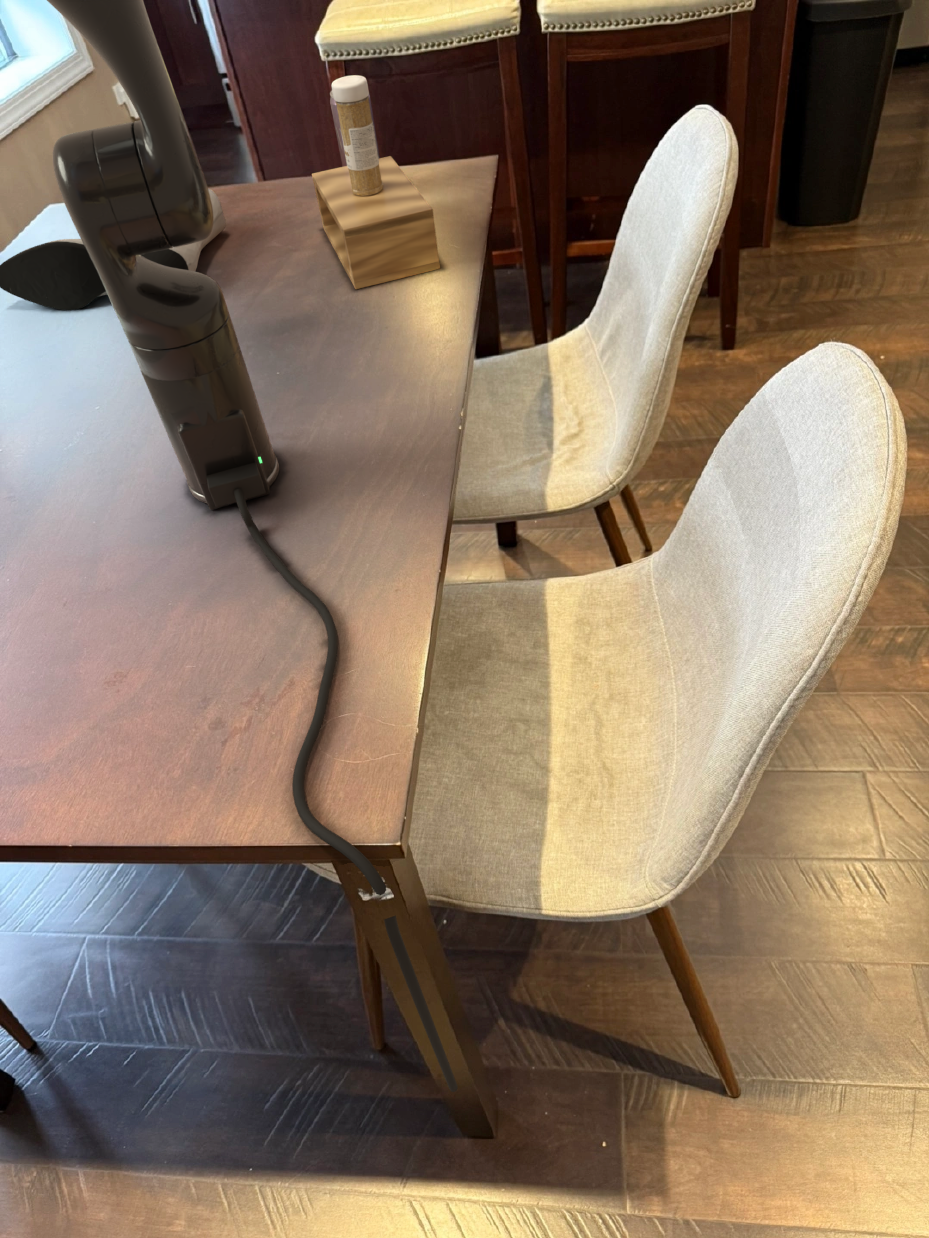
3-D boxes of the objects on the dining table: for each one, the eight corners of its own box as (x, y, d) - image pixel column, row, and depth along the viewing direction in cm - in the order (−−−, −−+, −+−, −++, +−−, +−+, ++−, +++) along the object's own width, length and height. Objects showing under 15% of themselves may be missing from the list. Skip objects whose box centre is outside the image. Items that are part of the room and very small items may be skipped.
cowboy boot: (167, 250, 112) (230, 176, 129) (-29, 241, 115) (57, 170, 132) (186, 318, 119) (243, 240, 136) (0, 308, 122) (78, 232, 139)
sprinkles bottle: (350, 187, 120) (329, 77, 110) (382, 182, 120) (364, 72, 111) (352, 199, 117) (331, 88, 107) (386, 194, 117) (367, 82, 107)
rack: (440, 268, 118) (432, 208, 112) (355, 289, 116) (343, 229, 111) (399, 211, 133) (390, 155, 127) (323, 229, 131) (311, 173, 125)
